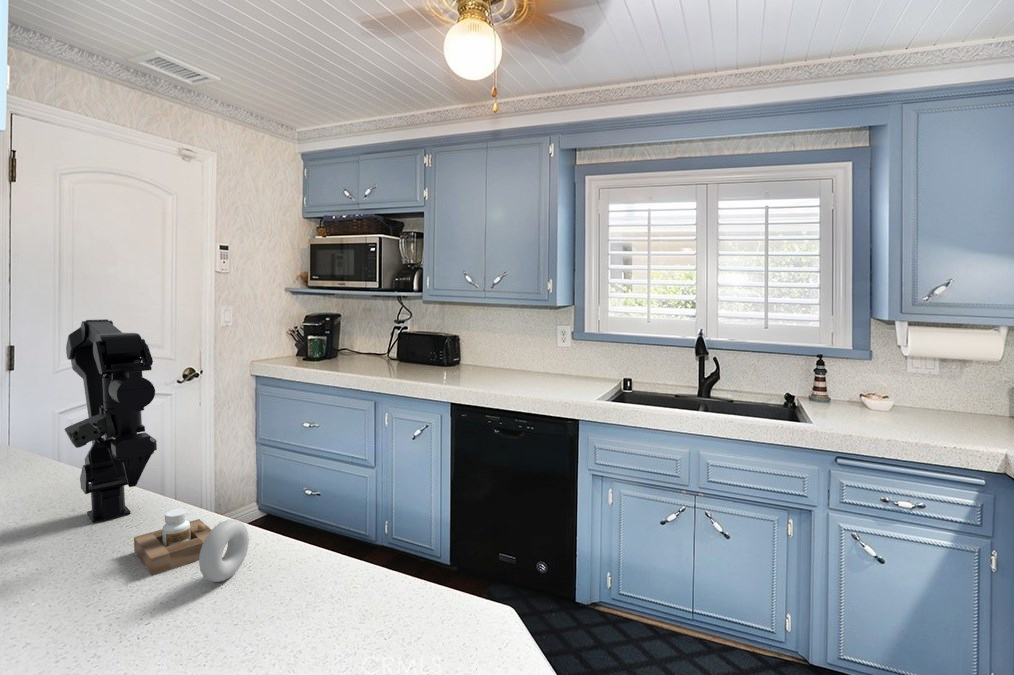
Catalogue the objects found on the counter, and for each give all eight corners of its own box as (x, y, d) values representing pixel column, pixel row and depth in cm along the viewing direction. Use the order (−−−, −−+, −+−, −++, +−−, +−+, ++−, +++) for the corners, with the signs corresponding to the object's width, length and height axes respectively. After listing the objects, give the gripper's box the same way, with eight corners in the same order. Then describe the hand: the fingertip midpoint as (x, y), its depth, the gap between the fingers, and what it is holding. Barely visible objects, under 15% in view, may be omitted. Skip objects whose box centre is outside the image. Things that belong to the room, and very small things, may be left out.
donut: (213, 595, 86) (211, 536, 85) (194, 592, 87) (192, 534, 86) (254, 564, 96) (252, 511, 95) (237, 562, 97) (235, 508, 96)
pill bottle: (168, 560, 96) (167, 519, 96) (159, 552, 99) (157, 512, 98) (194, 551, 100) (193, 511, 99) (185, 544, 103) (184, 505, 102)
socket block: (134, 552, 99) (133, 531, 99) (199, 533, 107) (199, 514, 107) (151, 575, 92) (150, 553, 91) (220, 552, 100) (219, 532, 99)
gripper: (58, 397, 101) (63, 477, 103) (78, 416, 89) (83, 506, 90) (129, 390, 109) (132, 464, 111) (155, 406, 97) (159, 489, 98)
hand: (126, 479), depth 102 cm, fingers open, 9 cm apart
